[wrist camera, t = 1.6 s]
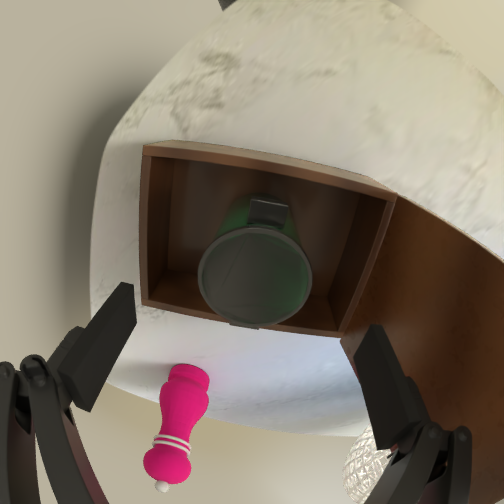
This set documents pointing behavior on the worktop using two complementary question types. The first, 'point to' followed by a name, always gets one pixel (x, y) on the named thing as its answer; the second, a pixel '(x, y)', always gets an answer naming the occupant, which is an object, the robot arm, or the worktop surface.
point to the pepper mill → (177, 425)
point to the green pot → (256, 264)
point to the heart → (362, 466)
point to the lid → (443, 330)
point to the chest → (245, 182)
